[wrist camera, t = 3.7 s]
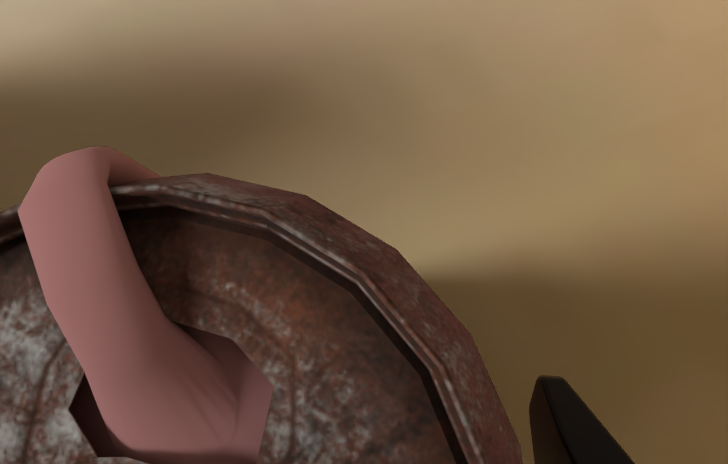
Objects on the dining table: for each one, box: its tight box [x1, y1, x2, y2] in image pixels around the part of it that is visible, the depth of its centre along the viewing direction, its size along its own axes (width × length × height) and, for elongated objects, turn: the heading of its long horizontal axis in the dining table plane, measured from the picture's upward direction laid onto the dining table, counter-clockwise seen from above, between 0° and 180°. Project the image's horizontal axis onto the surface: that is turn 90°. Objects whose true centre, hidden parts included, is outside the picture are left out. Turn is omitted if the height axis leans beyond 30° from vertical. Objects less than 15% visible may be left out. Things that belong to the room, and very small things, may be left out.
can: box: [0, 146, 523, 464], centre depth 10 cm, size 6×6×14 cm
